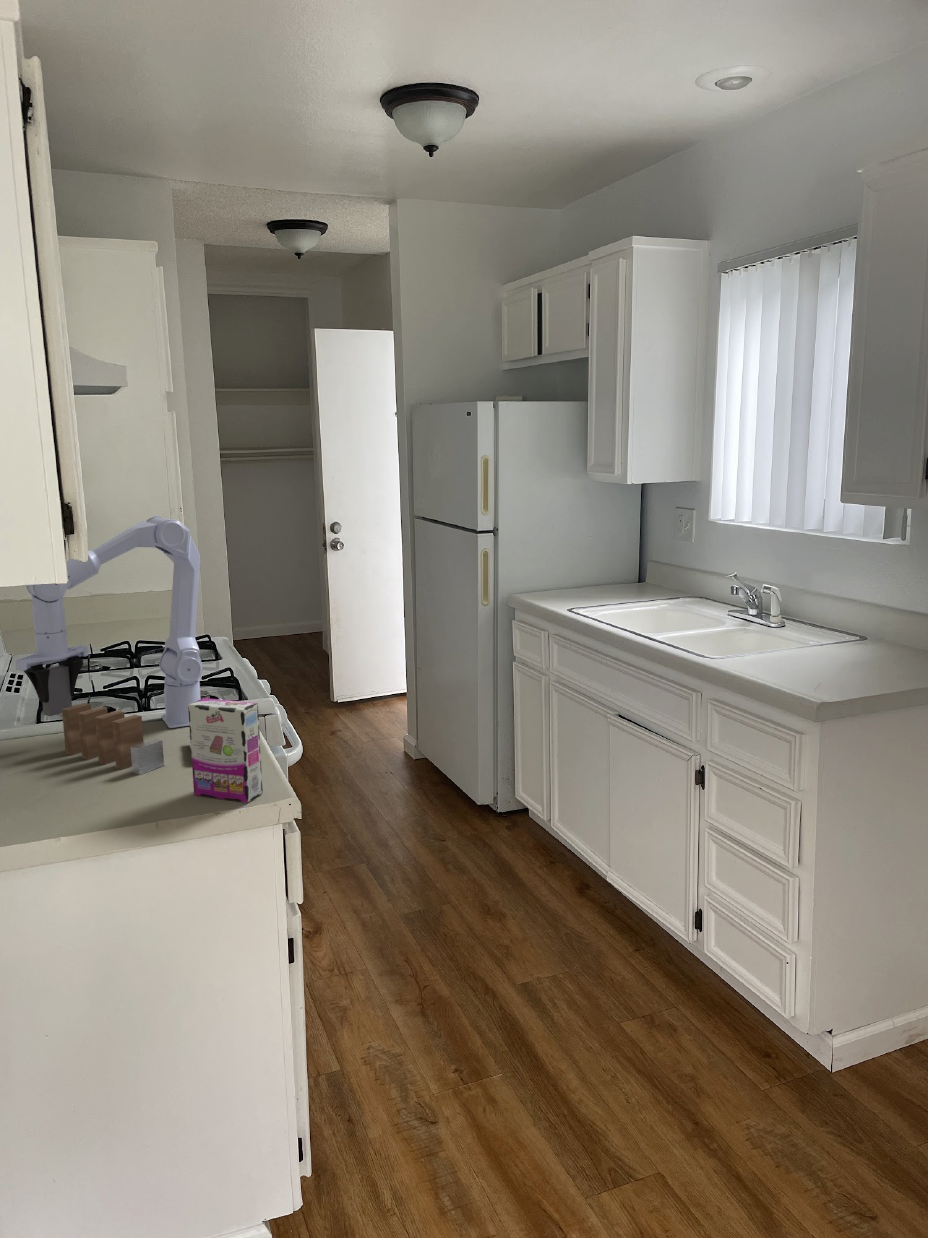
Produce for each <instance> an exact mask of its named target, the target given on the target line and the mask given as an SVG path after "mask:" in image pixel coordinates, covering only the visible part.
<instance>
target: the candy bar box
mask: <svg viewBox="0 0 928 1238" xmlns="http://www.w3.org/2000/svg"><path fill="white" fill-rule="evenodd" d="M188 712H189V735H190V740H189V741H191V748H190V750H191V751H190V753H191V754H190V755H191V767H192V784H193V794H194V796H196V795H198V796H199V797H203V798H209V797H210V799H216V798H218V799H217V800H223V799H224V800H223V801H232V802H238V803H239V802H240V803H246V804H247V803H250V802H252V801H253V800H255V799H256V798H258V797H260V796H261V795H262V794H263V791H264V790H263V773H262V760H261V759H262V757H261V756H262V755H261V736H260V721H259V720H260V718H259V717H260V716H259V703H258V702H250V701H249V702H247V701H241V700H240V701H239V700H229V699H217V698H206V697H204V698H201V700H198V701H196V702H194V703H191V704H189V705H188ZM198 796H197V797H198Z"/></svg>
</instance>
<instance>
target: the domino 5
mask: <svg viewBox="0 0 928 1238" xmlns="http://www.w3.org/2000/svg"><path fill="white" fill-rule="evenodd" d="M112 724H113V736H114V748H115V760H116V761H115V768H117V769H120V770H126V769H129V768H132V760H131V747H132V746H135V745H138V744H140V743H143V742H145V741H144V730H143V716H142V715H138V714H132V715H129V716H125V718H122V719H119V720H115V721H112Z"/></svg>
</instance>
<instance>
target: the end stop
mask: <svg viewBox="0 0 928 1238" xmlns="http://www.w3.org/2000/svg"><path fill="white" fill-rule="evenodd" d="M163 742H164V741H163V740H162V739H160V738H153V739H150V740H147V741H144V742H143V743H140V744H138V745H135V746H132V747H131V760H132V767H131V770H132V771H131V773H132V774H135V775H138V776H140V775H144V774H146V773H149V772H151V771H154V770H156V769H159V768H161V767H165V758H164V756H165V755H164V745H163Z"/></svg>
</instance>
